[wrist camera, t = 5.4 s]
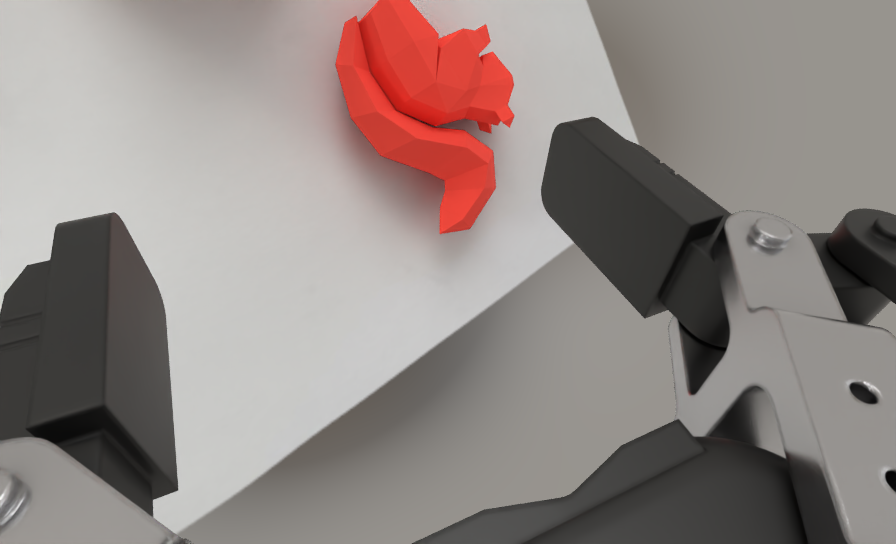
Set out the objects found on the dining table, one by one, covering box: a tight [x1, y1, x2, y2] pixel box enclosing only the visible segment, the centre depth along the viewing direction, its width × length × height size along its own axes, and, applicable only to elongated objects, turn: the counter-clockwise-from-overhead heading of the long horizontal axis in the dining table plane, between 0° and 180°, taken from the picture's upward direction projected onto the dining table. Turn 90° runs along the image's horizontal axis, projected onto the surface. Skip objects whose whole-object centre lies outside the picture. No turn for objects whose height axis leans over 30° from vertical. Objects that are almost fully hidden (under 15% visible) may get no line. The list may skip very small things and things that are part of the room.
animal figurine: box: [335, 0, 514, 234], centre depth 33 cm, size 12×15×5 cm
